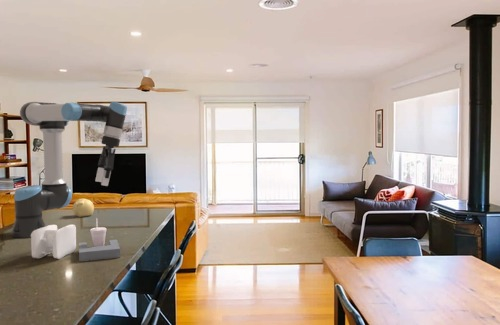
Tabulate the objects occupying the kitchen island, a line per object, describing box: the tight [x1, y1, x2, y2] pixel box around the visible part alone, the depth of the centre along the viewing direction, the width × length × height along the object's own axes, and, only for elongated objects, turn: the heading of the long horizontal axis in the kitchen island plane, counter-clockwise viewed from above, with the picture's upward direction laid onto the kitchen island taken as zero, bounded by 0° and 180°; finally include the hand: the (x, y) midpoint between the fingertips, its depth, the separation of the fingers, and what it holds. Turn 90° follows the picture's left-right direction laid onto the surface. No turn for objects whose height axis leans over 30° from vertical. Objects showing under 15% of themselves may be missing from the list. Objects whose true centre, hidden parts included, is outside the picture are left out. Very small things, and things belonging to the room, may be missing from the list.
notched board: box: [78, 239, 121, 262], centre depth 170 cm, size 16×15×4 cm
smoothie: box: [89, 217, 108, 247], centre depth 173 cm, size 6×6×14 cm
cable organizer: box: [30, 224, 77, 260], centre depth 167 cm, size 15×11×12 cm
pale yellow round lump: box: [72, 197, 95, 218], centre depth 252 cm, size 12×12×11 cm
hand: (101, 183), depth 186 cm, fingers open, 13 cm apart
